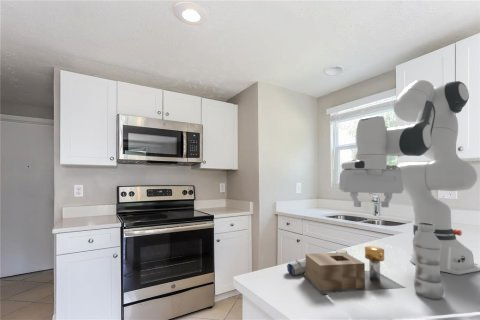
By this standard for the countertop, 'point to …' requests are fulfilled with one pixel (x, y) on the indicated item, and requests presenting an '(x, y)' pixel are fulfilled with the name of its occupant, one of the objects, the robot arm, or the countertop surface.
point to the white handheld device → (302, 265)
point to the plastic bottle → (427, 262)
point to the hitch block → (342, 274)
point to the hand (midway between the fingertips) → (371, 207)
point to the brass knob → (374, 261)
